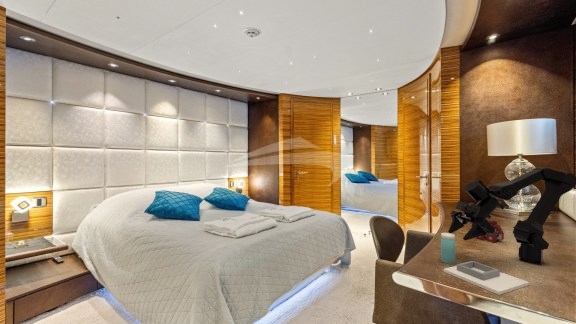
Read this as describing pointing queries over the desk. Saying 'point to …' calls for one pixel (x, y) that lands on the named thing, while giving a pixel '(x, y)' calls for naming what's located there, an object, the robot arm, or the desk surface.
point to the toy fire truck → (495, 235)
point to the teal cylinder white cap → (448, 248)
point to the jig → (486, 277)
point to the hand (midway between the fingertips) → (456, 236)
